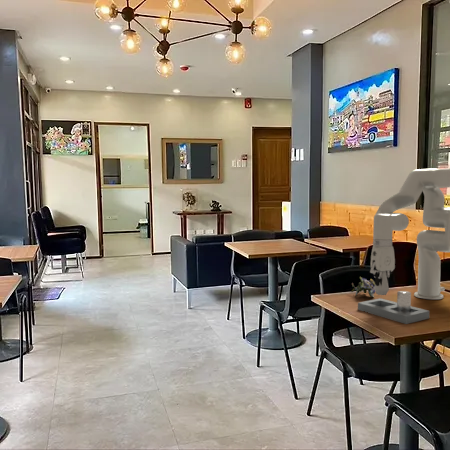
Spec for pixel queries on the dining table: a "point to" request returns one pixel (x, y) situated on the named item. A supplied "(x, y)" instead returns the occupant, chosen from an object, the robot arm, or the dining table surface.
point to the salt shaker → (384, 287)
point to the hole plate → (392, 311)
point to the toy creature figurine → (365, 287)
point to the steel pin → (404, 302)
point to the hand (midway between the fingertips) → (381, 286)
